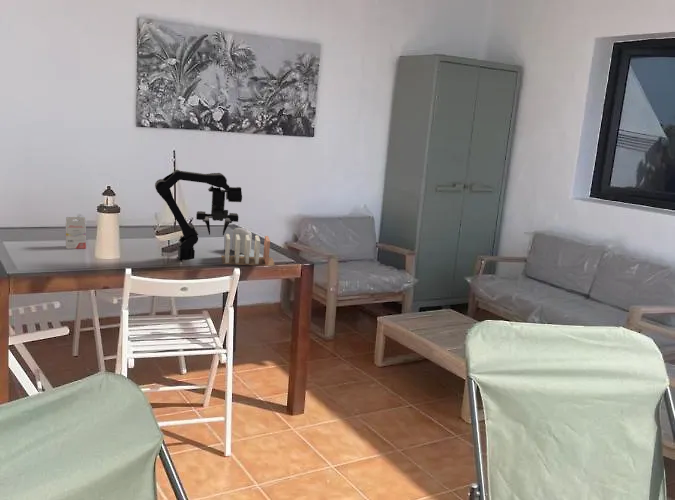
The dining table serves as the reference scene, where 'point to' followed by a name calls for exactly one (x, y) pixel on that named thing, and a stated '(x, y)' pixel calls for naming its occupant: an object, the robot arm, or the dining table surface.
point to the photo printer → (241, 238)
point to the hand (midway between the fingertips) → (216, 234)
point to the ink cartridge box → (75, 233)
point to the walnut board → (251, 261)
